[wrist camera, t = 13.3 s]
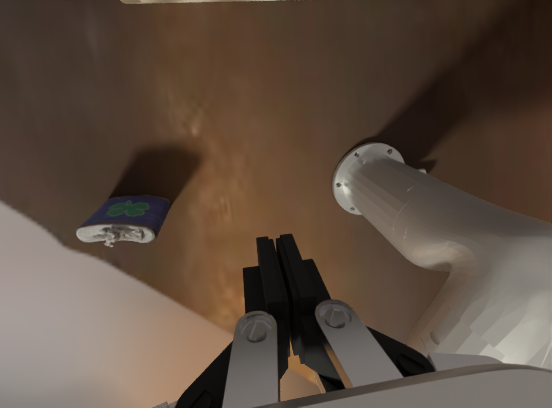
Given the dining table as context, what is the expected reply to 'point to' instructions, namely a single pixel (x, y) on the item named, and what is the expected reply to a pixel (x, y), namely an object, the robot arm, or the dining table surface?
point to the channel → (178, 0)
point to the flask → (126, 219)
